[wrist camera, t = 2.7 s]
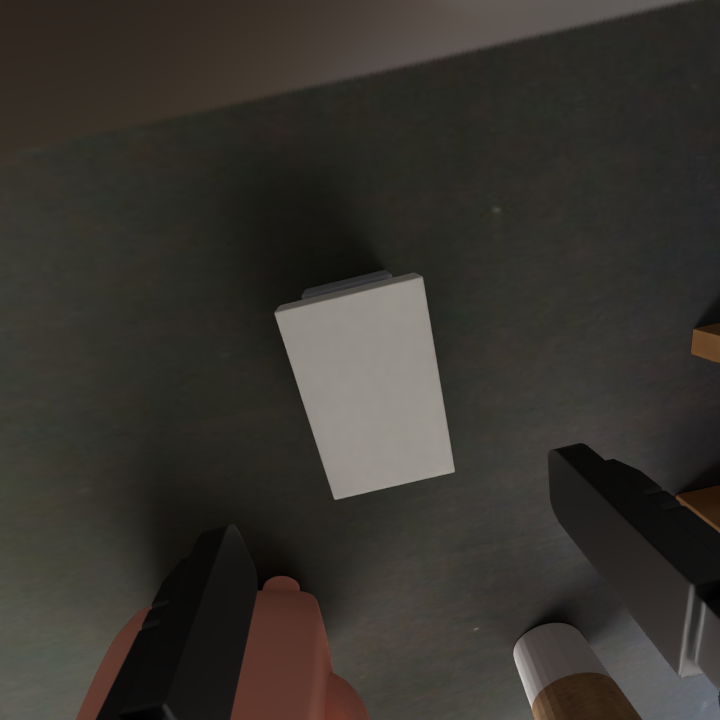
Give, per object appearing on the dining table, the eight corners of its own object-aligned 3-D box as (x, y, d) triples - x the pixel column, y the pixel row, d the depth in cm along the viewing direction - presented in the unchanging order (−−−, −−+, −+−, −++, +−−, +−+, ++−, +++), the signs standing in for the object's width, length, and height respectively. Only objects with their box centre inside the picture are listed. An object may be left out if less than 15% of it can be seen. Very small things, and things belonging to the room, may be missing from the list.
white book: (279, 305, 15) (273, 312, 13) (414, 272, 15) (422, 276, 13) (334, 480, 18) (334, 500, 17) (446, 454, 18) (455, 472, 17)
